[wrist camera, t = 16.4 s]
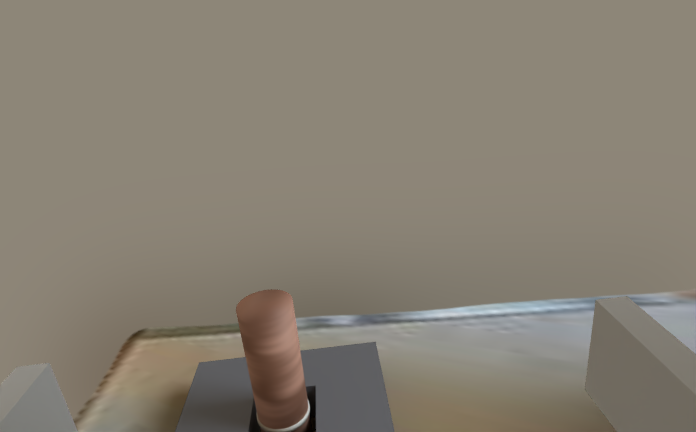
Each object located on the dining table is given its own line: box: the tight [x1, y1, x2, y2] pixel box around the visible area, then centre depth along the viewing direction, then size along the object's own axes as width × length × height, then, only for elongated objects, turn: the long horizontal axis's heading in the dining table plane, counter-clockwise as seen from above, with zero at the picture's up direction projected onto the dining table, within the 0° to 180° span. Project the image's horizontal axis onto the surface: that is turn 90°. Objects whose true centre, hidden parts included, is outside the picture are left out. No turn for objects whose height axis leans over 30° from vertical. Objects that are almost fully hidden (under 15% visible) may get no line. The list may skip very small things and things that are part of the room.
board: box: [175, 342, 394, 432], centre depth 44 cm, size 20×18×4 cm
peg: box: [236, 290, 312, 432], centre depth 42 cm, size 5×5×16 cm
